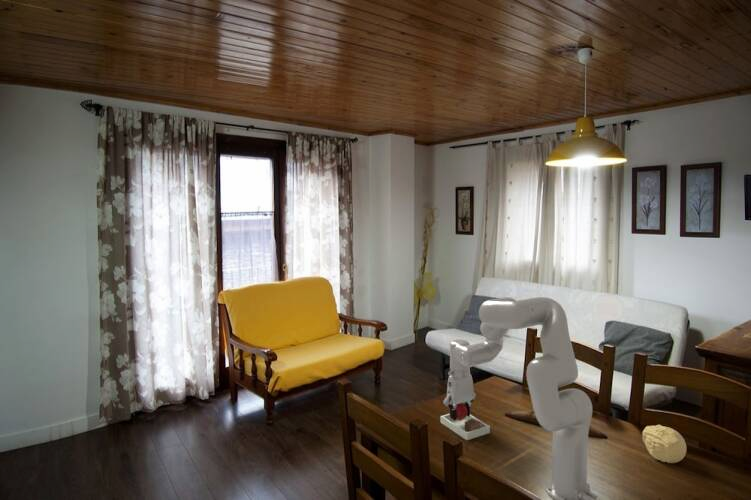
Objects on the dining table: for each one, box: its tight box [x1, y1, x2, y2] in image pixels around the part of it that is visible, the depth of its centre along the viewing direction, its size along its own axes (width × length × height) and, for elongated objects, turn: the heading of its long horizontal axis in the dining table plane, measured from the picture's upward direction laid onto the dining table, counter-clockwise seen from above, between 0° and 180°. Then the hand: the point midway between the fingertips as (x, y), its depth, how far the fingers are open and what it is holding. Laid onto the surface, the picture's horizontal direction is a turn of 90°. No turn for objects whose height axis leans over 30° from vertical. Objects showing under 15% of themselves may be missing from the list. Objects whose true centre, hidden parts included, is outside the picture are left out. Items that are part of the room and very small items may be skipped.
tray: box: [439, 413, 491, 441], centre depth 175 cm, size 16×11×3 cm
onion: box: [455, 403, 467, 421], centre depth 177 cm, size 6×6×8 cm
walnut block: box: [465, 419, 480, 432], centre depth 171 cm, size 4×4×4 cm
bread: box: [504, 410, 609, 439], centre depth 176 cm, size 38×5×5 cm, turn 59°
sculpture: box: [642, 424, 687, 464], centre depth 153 cm, size 12×12×11 cm
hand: (459, 416), depth 177 cm, fingers closed on onion, 5 cm apart
